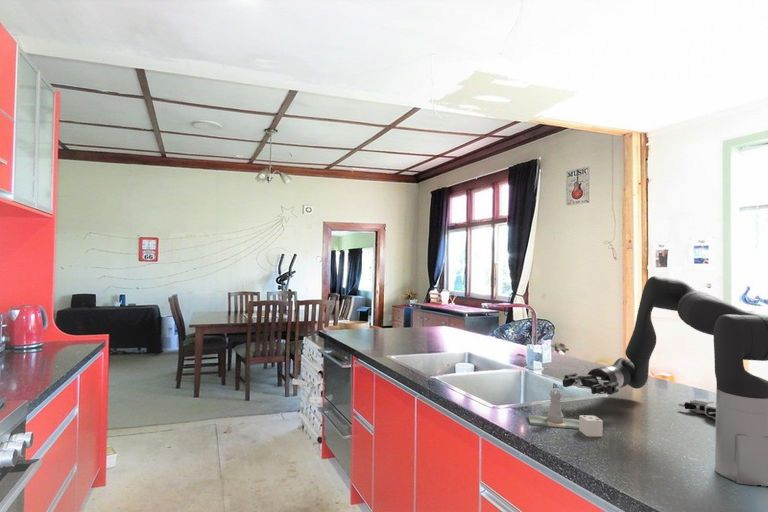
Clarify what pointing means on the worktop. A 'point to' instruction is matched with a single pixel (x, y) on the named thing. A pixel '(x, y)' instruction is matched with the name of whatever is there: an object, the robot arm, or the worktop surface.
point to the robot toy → (701, 407)
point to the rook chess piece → (555, 408)
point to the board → (544, 422)
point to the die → (590, 425)
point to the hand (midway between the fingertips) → (578, 386)
